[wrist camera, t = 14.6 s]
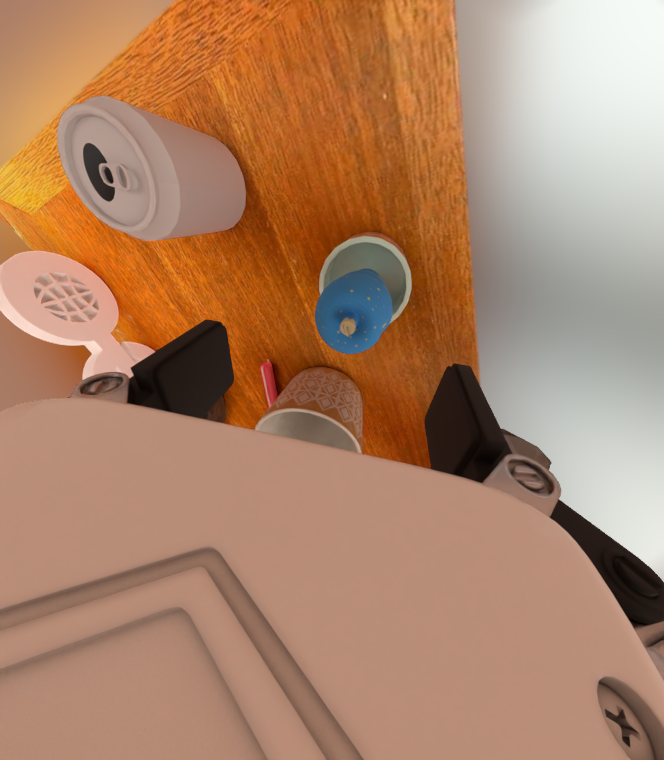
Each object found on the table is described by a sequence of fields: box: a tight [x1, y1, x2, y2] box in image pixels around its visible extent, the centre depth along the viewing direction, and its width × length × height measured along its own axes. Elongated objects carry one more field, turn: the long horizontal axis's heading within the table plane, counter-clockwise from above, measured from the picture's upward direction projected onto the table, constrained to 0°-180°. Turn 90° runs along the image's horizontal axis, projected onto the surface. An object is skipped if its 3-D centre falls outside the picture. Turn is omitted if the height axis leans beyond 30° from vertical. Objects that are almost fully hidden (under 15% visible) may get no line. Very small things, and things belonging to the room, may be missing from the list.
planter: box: [254, 367, 363, 454], centre depth 33 cm, size 13×13×10 cm
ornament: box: [315, 269, 393, 354], centre depth 21 cm, size 5×5×15 cm
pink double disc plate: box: [0, 251, 156, 380], centre depth 33 cm, size 22×2×10 cm, turn 21°
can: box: [57, 96, 246, 241], centre depth 20 cm, size 8×8×12 cm
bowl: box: [319, 232, 412, 323], centre depth 25 cm, size 8×8×5 cm
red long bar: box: [260, 359, 278, 408], centre depth 41 cm, size 24×2×5 cm
